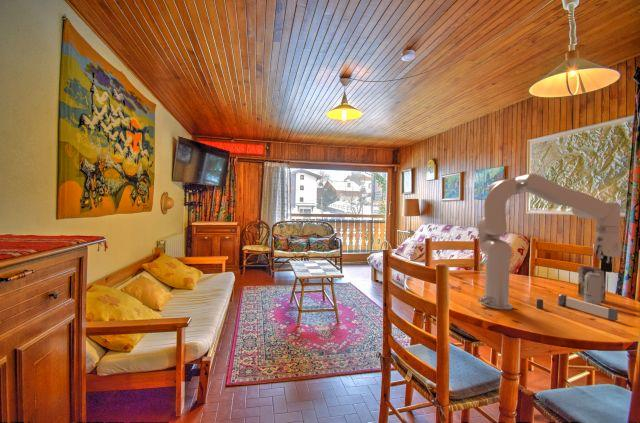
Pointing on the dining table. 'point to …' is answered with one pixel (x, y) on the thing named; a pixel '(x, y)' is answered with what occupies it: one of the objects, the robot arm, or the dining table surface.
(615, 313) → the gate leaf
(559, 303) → the gate post
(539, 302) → the stop post
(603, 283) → the coffee box
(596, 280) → the energy drink can
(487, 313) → the dining table surface
